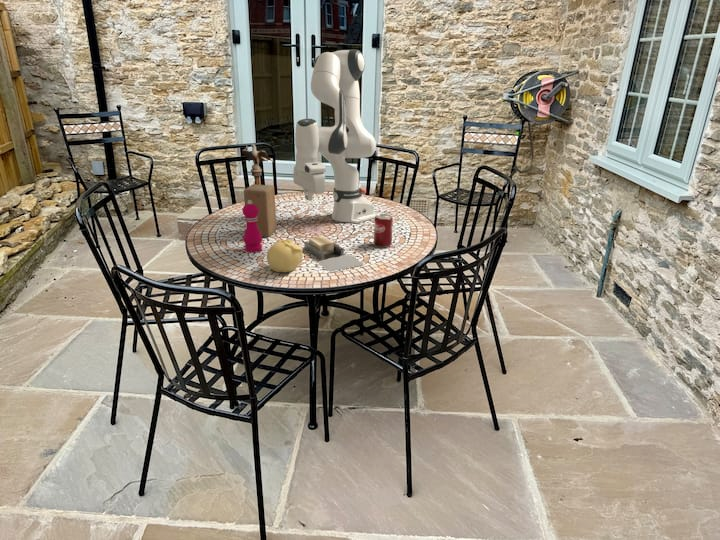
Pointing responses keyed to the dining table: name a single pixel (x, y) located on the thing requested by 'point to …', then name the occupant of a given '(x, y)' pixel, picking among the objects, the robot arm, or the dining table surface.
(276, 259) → the sculpture
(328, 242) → the birch block
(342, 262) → the slate mat
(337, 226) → the dining table surface
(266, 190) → the wooden block
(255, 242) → the pepper mill
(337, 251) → the metal chute
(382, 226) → the soda can
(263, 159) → the bird statue
